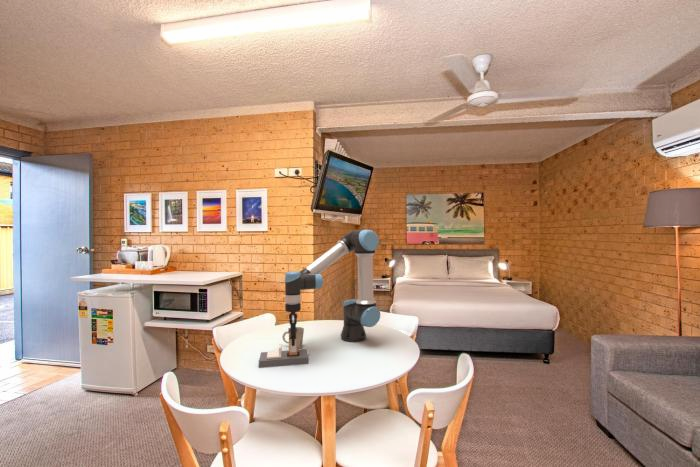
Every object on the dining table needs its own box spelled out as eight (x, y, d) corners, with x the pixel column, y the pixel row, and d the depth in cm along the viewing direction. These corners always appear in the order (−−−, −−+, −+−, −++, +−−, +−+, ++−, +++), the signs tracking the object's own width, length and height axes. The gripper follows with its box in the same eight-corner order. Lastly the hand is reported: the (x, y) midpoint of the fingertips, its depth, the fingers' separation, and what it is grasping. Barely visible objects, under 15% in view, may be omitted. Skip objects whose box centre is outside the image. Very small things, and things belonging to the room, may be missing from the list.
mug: (300, 350, 175) (300, 331, 175) (279, 348, 178) (279, 330, 178) (306, 345, 183) (305, 327, 183) (285, 343, 186) (285, 326, 186)
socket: (306, 354, 168) (306, 348, 168) (308, 363, 156) (308, 357, 156) (261, 358, 164) (260, 352, 164) (258, 367, 152) (258, 361, 152)
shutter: (281, 351, 164) (281, 342, 164) (281, 357, 155) (281, 348, 155) (267, 352, 163) (267, 343, 163) (266, 359, 154) (266, 349, 154)
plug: (297, 351, 163) (297, 327, 163) (297, 354, 159) (297, 330, 159) (288, 352, 162) (288, 328, 163) (288, 355, 158) (288, 330, 158)
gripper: (285, 300, 169) (285, 345, 168) (285, 306, 152) (285, 357, 152) (299, 299, 170) (300, 344, 170) (301, 306, 153) (301, 355, 153)
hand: (293, 350), depth 161 cm, fingers closed on plug, 4 cm apart
